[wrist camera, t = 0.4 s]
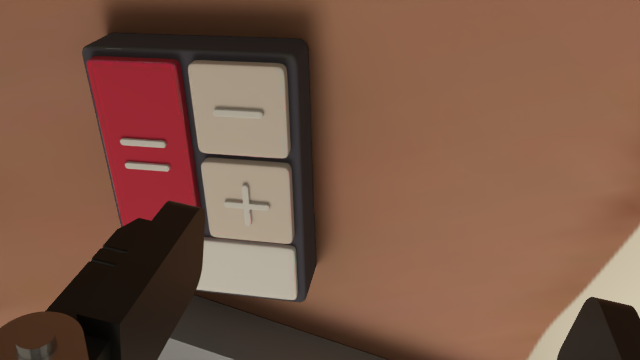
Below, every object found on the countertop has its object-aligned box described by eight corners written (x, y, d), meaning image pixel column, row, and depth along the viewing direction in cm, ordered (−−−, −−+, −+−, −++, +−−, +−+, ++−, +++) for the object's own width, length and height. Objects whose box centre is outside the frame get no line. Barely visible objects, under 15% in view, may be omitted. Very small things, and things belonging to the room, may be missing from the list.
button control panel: (293, 58, 25) (303, 313, 32) (311, 33, 29) (317, 267, 36) (69, 49, 27) (127, 293, 34) (114, 28, 30) (157, 251, 38)
